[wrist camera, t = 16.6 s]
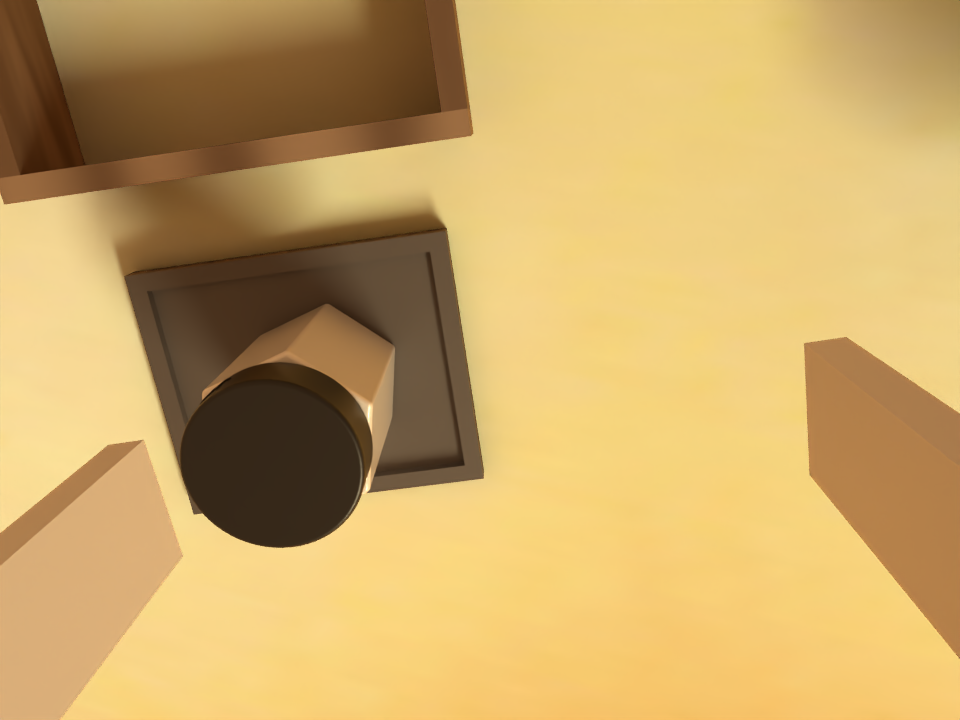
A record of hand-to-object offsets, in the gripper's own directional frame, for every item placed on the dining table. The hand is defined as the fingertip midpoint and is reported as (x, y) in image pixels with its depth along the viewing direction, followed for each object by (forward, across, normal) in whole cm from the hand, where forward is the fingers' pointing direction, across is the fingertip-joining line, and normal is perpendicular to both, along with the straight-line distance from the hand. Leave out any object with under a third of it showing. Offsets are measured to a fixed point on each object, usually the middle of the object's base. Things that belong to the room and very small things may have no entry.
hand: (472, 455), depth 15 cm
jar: (+28, +11, +6) cm, 31 cm away
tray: (+28, +12, +6) cm, 31 cm away
